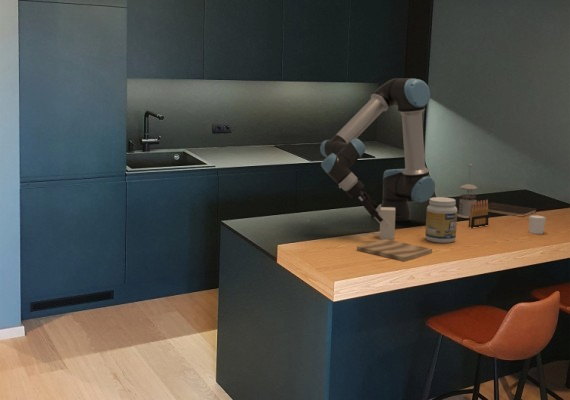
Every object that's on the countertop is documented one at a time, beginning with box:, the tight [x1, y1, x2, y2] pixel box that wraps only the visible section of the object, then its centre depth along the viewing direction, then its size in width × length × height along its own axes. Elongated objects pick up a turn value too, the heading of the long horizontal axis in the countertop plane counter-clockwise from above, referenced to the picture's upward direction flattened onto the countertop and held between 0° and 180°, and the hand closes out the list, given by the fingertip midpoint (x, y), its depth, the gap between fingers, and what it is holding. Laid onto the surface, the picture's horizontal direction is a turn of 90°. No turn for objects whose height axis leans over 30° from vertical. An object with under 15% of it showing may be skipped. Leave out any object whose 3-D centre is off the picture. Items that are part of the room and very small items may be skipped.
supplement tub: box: [424, 196, 458, 244], centre depth 289 cm, size 12×12×17 cm
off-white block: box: [379, 206, 396, 240], centre depth 294 cm, size 6×6×12 cm
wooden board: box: [356, 239, 433, 262], centre depth 272 cm, size 22×18×2 cm
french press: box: [457, 163, 478, 219], centre depth 337 cm, size 10×12×25 cm
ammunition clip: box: [468, 199, 490, 229], centre depth 315 cm, size 11×2×12 cm, turn 122°
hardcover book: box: [488, 202, 537, 216], centre depth 351 cm, size 16×23×2 cm
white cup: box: [528, 214, 547, 235], centre depth 305 cm, size 7×7×7 cm
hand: (387, 223), depth 293 cm, fingers open, 13 cm apart
